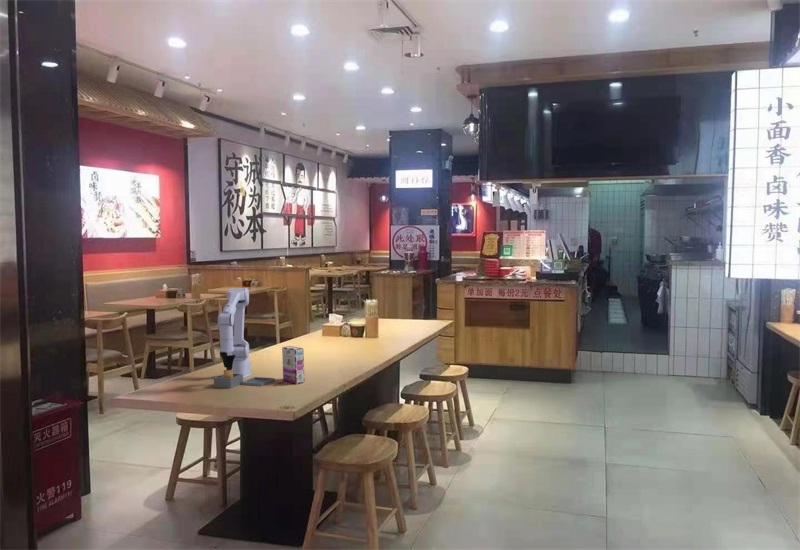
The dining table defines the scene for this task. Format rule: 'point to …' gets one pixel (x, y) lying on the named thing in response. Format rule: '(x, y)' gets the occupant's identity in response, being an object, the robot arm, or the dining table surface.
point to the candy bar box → (293, 364)
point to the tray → (257, 381)
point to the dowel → (228, 373)
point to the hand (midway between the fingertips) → (228, 368)
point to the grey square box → (228, 381)
